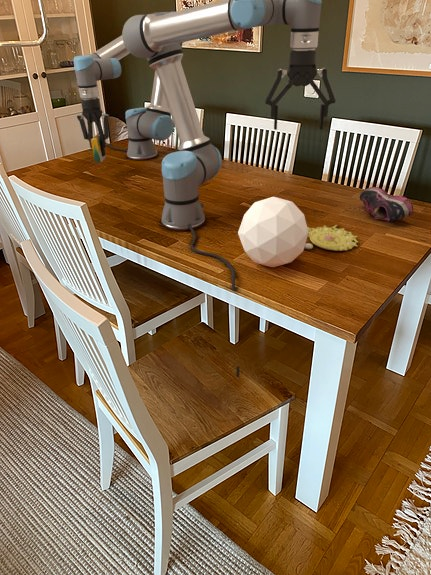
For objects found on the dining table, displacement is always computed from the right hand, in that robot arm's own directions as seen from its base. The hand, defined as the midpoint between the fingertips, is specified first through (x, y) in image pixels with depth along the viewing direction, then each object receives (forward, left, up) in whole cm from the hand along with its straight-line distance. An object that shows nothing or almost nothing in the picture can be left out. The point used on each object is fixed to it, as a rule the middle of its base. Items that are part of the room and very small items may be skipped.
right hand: (297, 128), depth 134 cm
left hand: (+67, +67, -22) cm, 97 cm away
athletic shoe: (0, -32, -32) cm, 45 cm away
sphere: (-24, +13, -32) cm, 42 cm away
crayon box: (+67, +67, -24) cm, 98 cm away
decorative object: (-13, -8, -32) cm, 36 cm away
